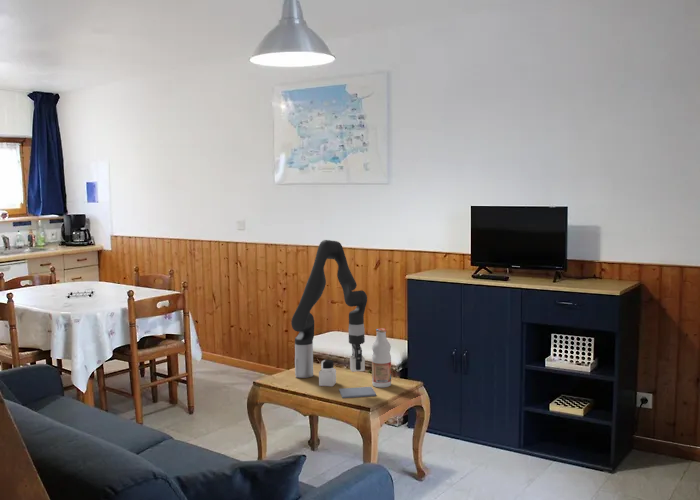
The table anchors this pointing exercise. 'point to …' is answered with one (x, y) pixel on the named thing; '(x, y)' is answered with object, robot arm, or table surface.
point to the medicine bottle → (327, 373)
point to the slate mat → (357, 392)
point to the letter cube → (353, 364)
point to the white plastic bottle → (381, 360)
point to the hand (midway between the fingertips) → (357, 367)
